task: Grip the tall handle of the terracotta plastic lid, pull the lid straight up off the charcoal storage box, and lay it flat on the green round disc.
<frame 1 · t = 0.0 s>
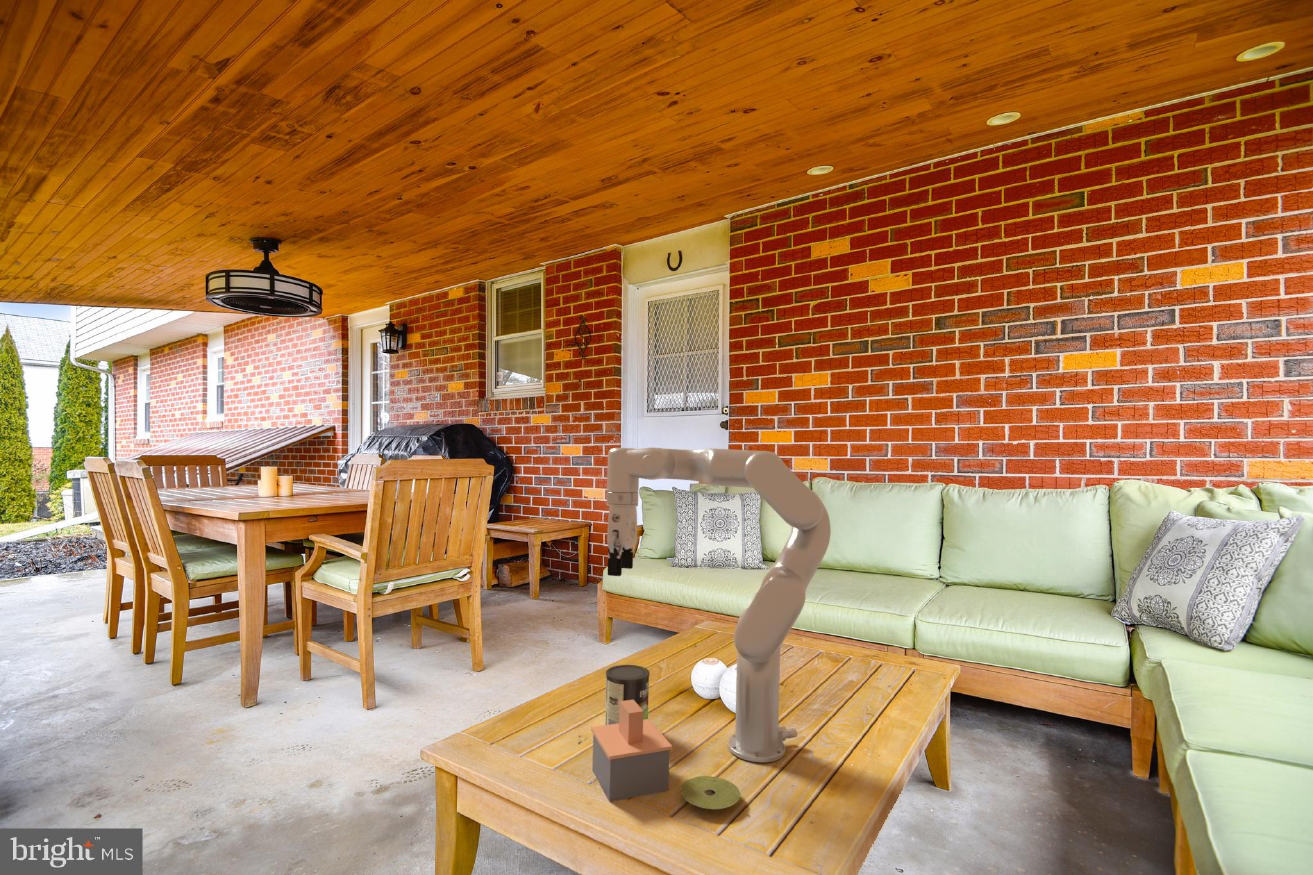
hand: (620, 571, 144), 37 cm above the table, tool pointing down, fingers open, 9 cm apart
lid: (630, 739, 121), point 8 cm above the table, touching storage box
coffee can: (626, 733, 142), on the table
green round disc: (709, 802, 114), on the table
storage box: (629, 779, 121), on the table
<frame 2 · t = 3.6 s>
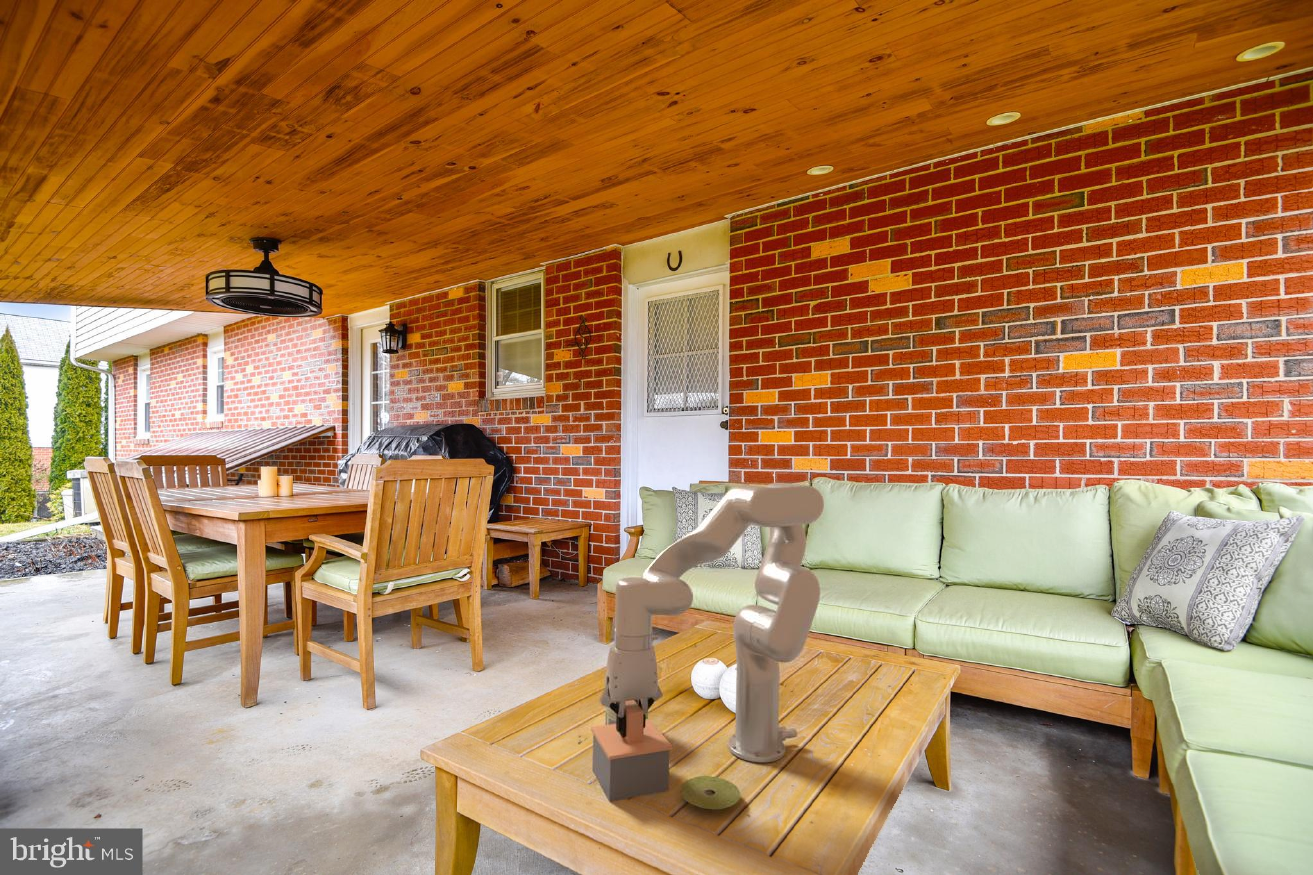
hand: (630, 732, 121), 9 cm above the table, tool pointing down, fingers closed on lid, 3 cm apart
lid: (630, 739, 121), point 8 cm above the table, touching gripper, storage box
everything else where it was.
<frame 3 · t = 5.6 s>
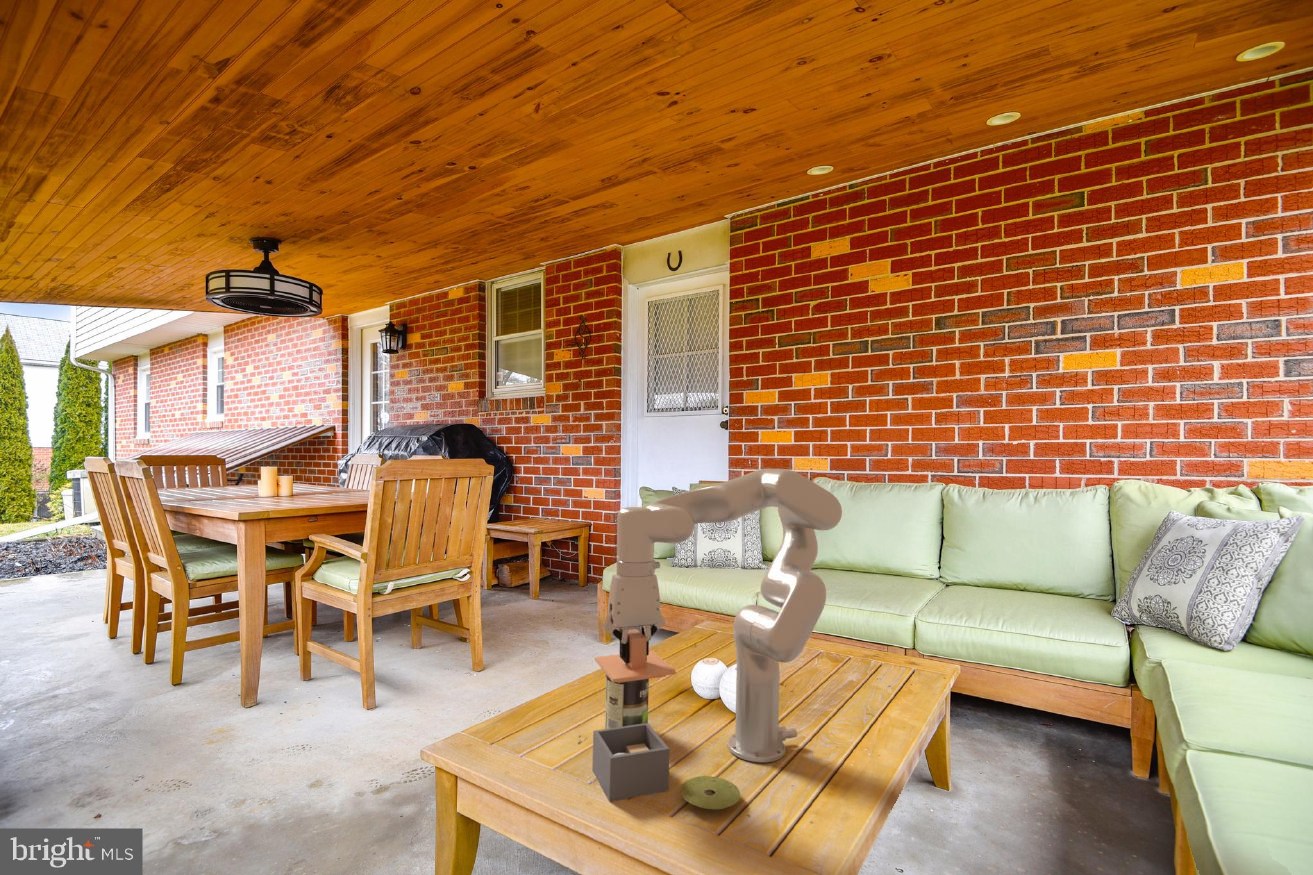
hand: (634, 659, 122), 24 cm above the table, tool pointing down, fingers closed on lid, 3 cm apart
lid: (633, 666, 122), point 22 cm above the table, touching gripper
everything else where it was.
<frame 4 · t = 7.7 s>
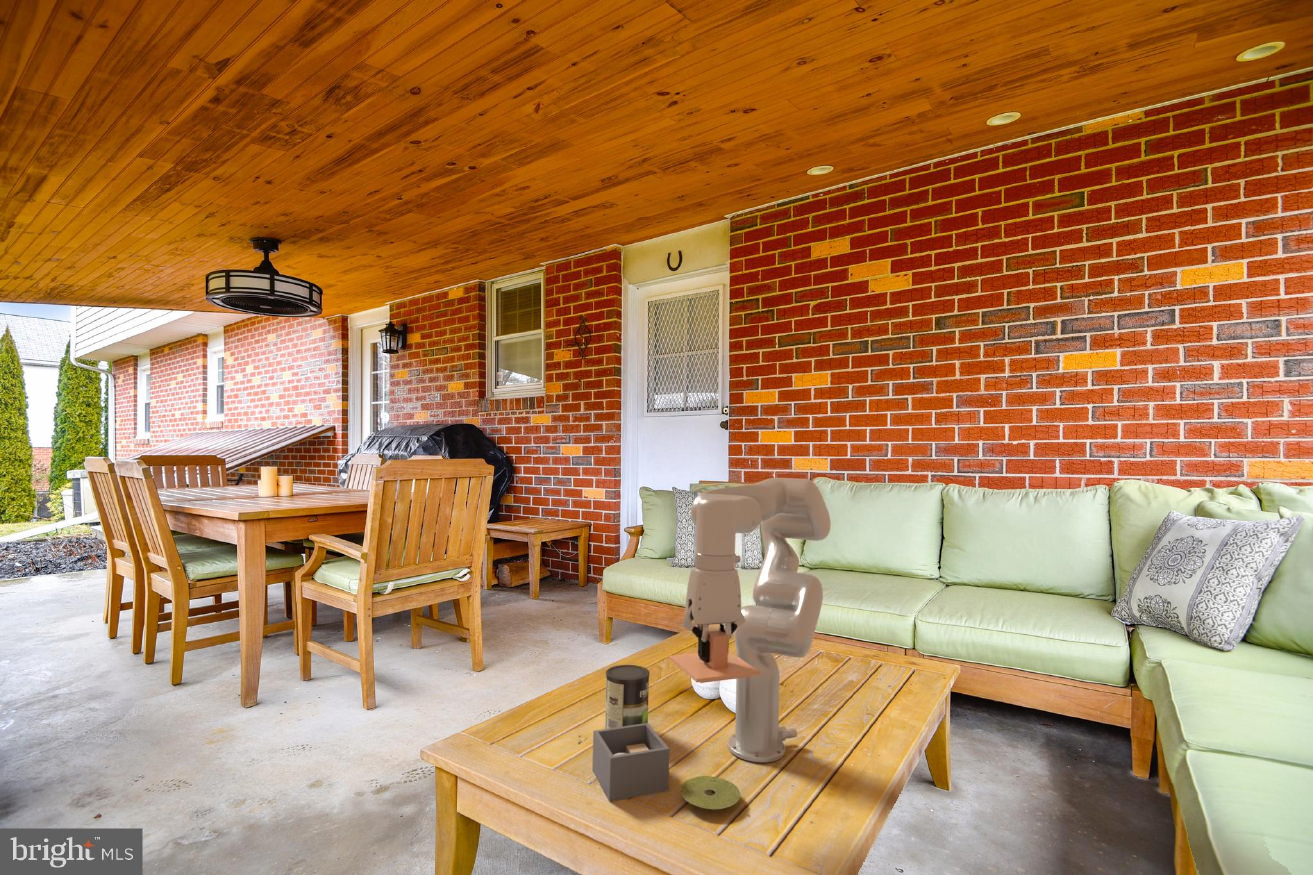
hand: (713, 658, 115), 27 cm above the table, tool pointing down, fingers closed on lid, 3 cm apart
lid: (712, 666, 115), point 25 cm above the table, touching gripper
everything else where it was.
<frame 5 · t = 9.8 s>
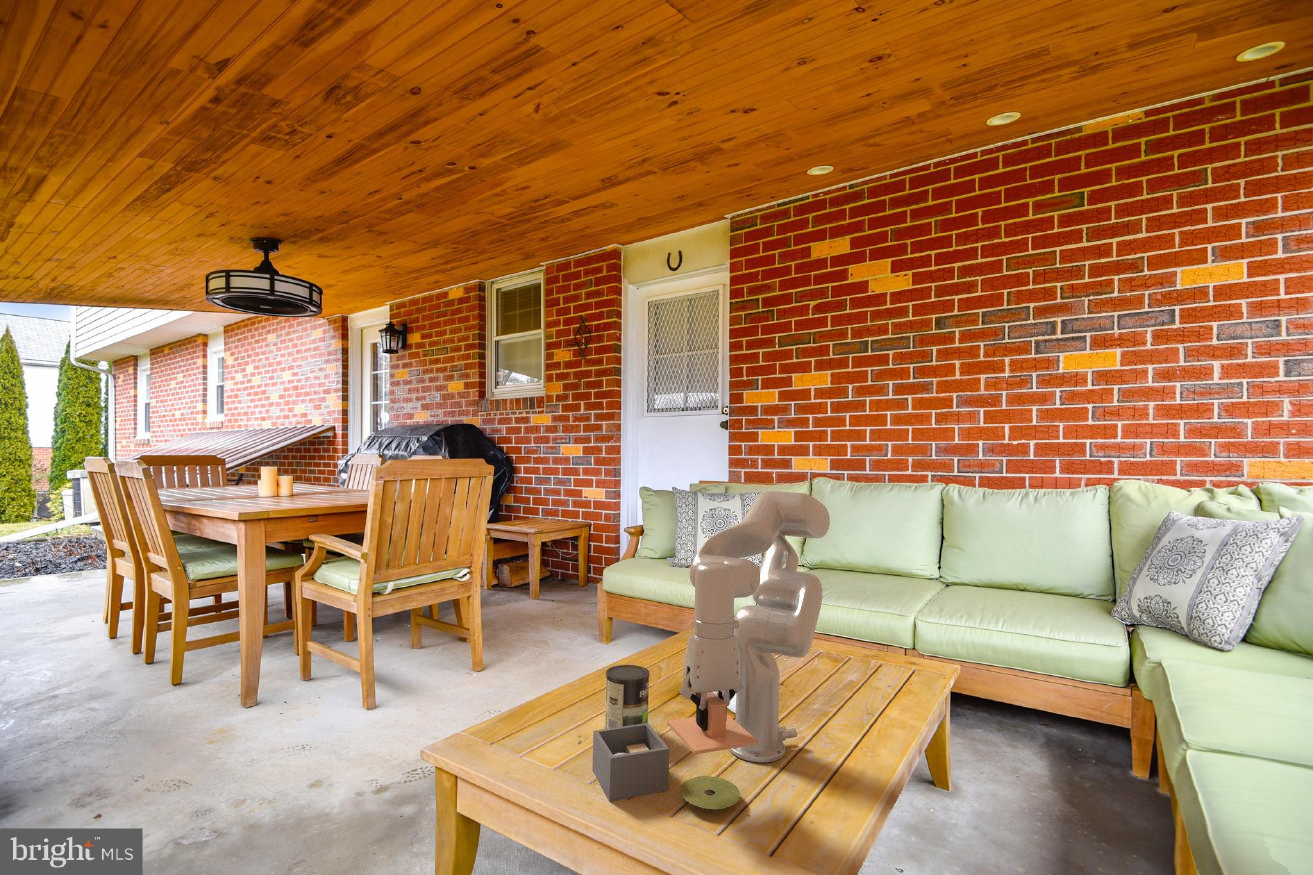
hand: (711, 725, 114), 14 cm above the table, tool pointing down, fingers closed on lid, 3 cm apart
lid: (711, 733, 114), point 13 cm above the table, touching gripper
everything else where it was.
when the fingers open (6 cm above the table, at t = 11.8 s): lid stays where it is and tips over, resting on green round disc.
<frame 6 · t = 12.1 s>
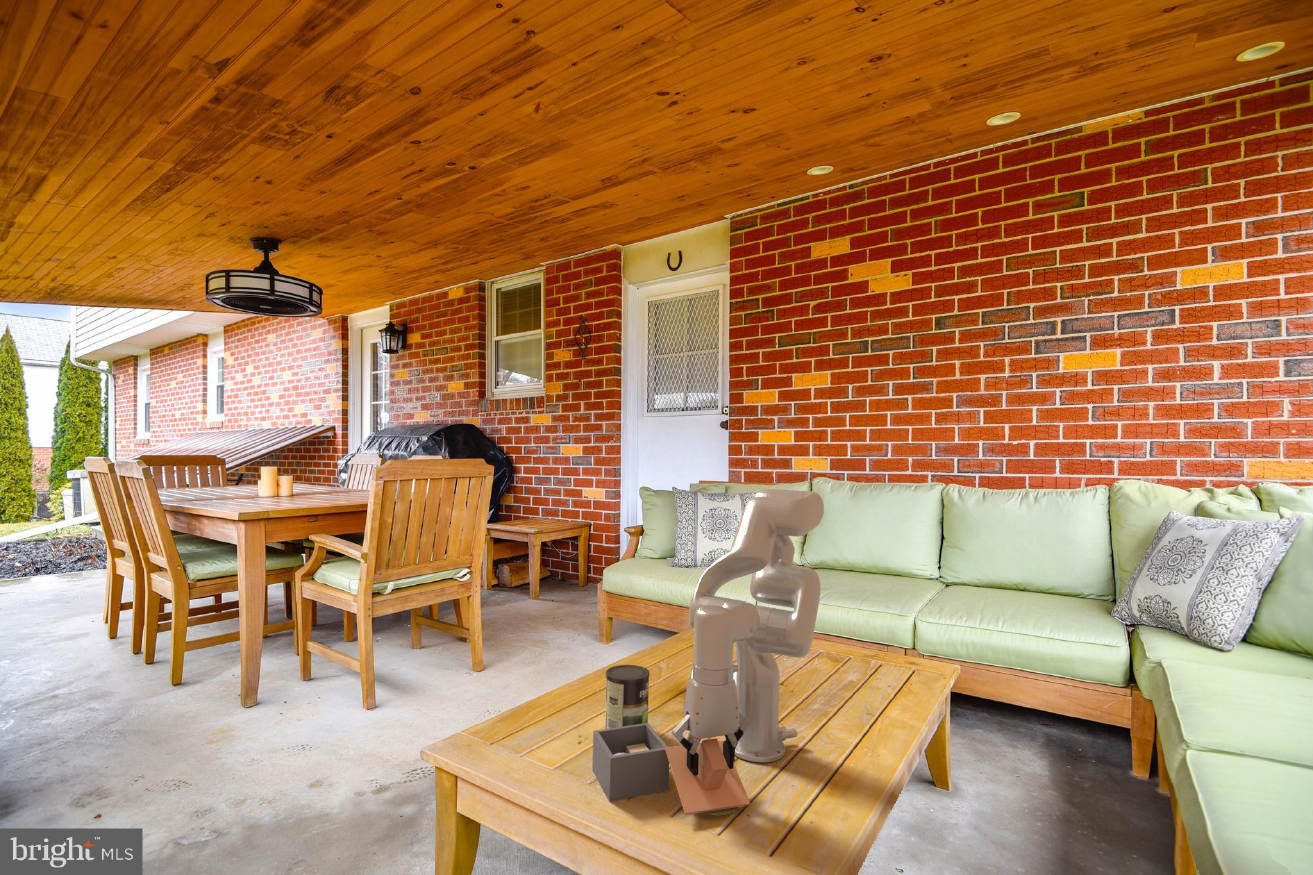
hand: (710, 767, 114), 6 cm above the table, tool pointing down, fingers open, 6 cm apart
lid: (705, 776, 114), point 5 cm above the table, tilted 30°, touching green round disc
green round disc: (709, 801, 114), on the table, touching lid
everything else where it was.
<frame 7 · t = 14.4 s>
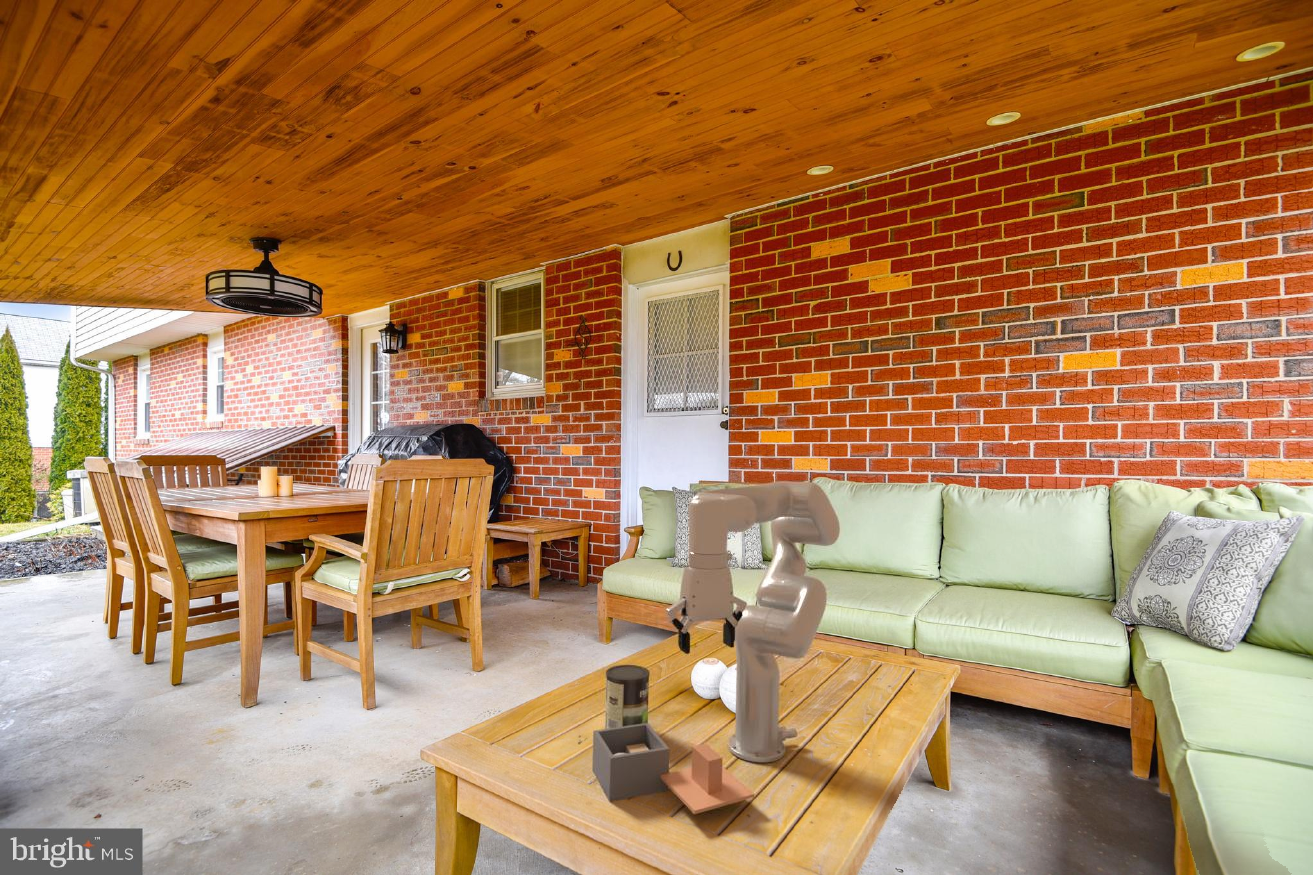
hand: (706, 648, 118), 28 cm above the table, tool pointing down, fingers open, 9 cm apart
lid: (706, 787, 114), point 3 cm above the table, touching green round disc
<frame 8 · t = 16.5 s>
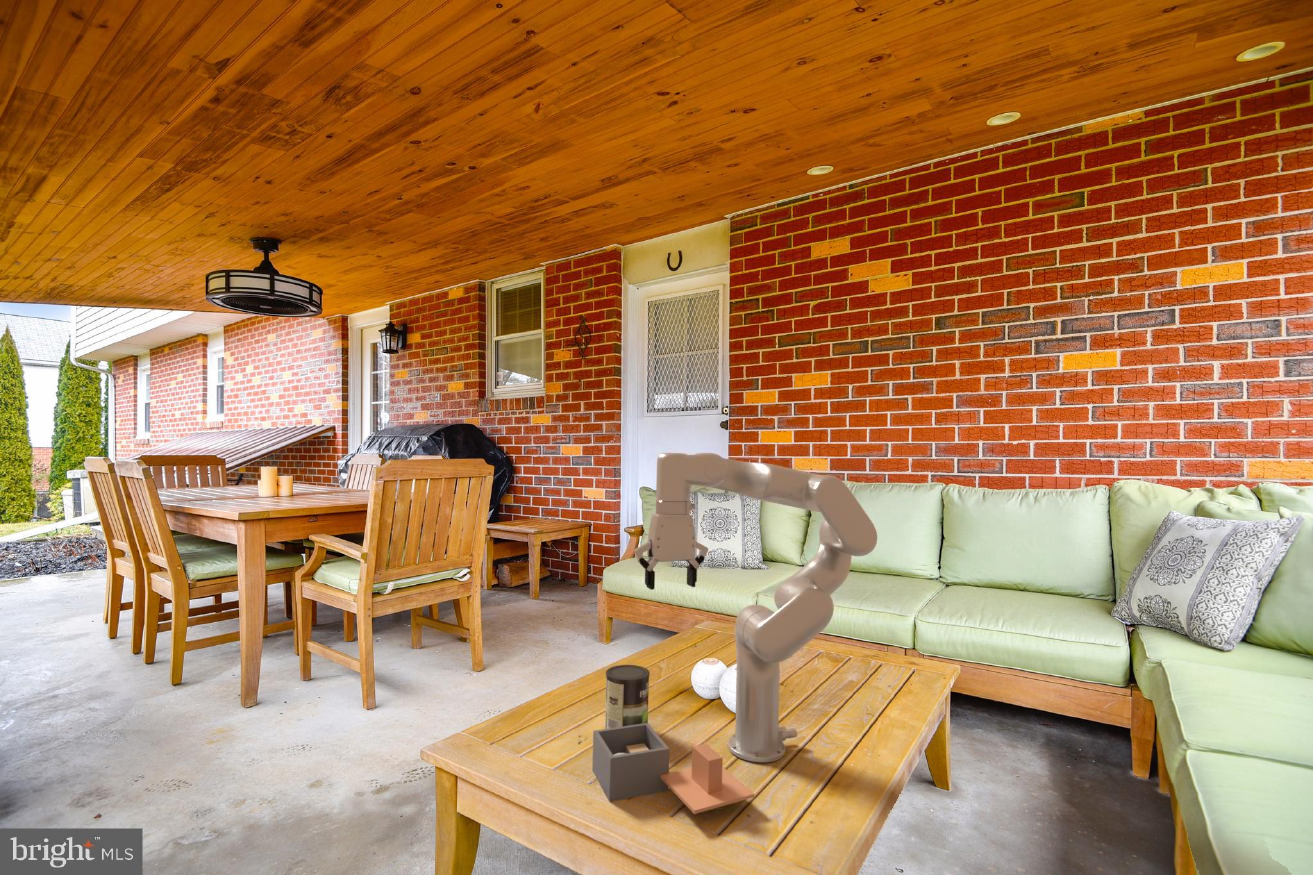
hand: (670, 587, 133), 36 cm above the table, tool pointing down, fingers open, 9 cm apart
nothing on the table moved.
at the end: lid inside the target area on the green round disc (0.8 cm from its centre), point 2.9 cm above the green round disc's base; lid tilted 0°; the gripper is holding nothing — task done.
